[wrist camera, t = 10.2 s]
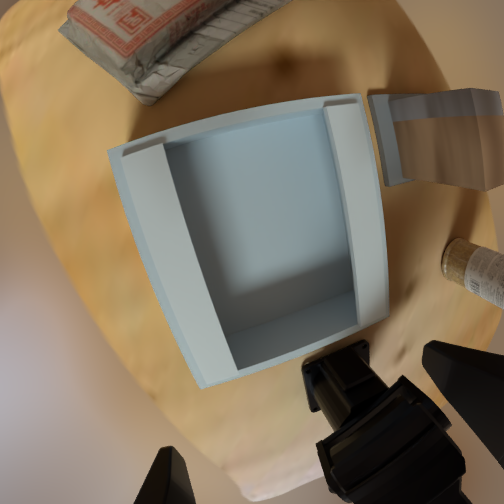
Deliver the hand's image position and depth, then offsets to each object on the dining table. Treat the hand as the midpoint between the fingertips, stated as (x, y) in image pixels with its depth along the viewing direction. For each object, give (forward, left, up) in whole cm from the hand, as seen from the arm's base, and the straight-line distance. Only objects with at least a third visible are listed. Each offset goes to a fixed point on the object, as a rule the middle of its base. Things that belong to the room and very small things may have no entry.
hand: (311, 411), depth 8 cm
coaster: (+6, -16, -12) cm, 21 cm away
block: (+6, -16, -12) cm, 21 cm away
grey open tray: (+2, -2, -12) cm, 13 cm away
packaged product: (+20, -3, -13) cm, 25 cm away
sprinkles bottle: (-6, -21, -13) cm, 25 cm away
